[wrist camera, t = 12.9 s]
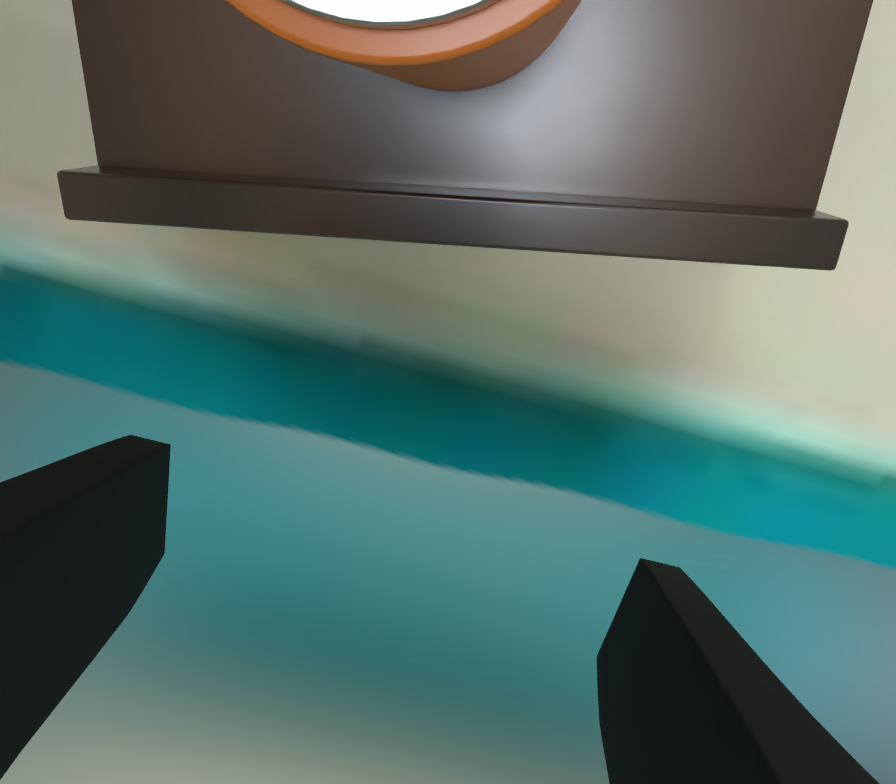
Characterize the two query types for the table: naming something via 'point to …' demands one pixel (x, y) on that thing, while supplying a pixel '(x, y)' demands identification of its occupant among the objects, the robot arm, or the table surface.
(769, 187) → the shelf
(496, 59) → the can
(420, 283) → the table surface
